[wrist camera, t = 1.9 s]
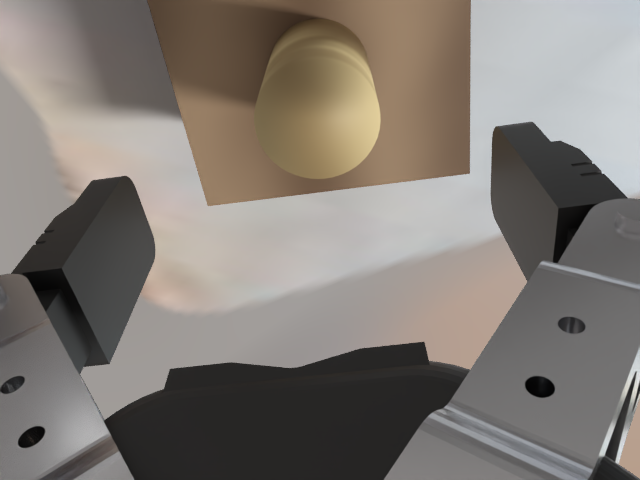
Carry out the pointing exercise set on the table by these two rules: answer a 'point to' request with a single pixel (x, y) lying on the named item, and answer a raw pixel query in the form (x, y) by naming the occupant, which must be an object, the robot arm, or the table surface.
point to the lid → (318, 92)
